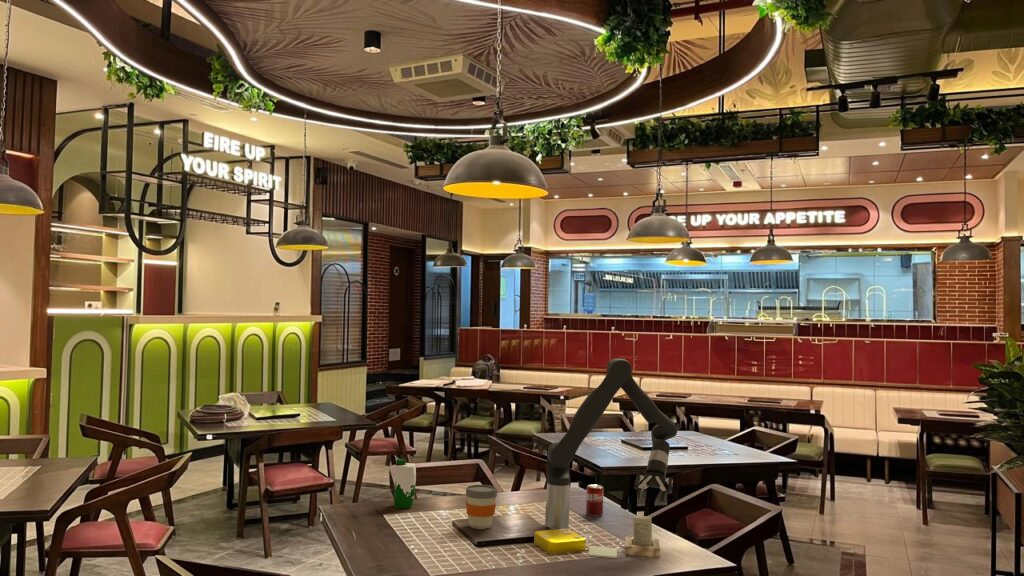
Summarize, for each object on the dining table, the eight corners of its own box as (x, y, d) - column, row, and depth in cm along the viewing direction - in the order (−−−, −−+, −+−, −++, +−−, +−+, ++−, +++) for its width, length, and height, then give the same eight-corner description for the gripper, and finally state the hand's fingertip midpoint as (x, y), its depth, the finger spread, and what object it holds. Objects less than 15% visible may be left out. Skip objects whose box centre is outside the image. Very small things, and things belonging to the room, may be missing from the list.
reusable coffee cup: (458, 528, 279) (460, 489, 280) (472, 520, 291) (473, 483, 292) (488, 532, 275) (489, 493, 275) (500, 524, 286) (502, 486, 287)
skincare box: (651, 550, 259) (652, 516, 260) (650, 554, 255) (651, 519, 256) (634, 548, 261) (635, 514, 262) (632, 551, 257) (633, 517, 258)
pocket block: (625, 554, 253) (625, 546, 253) (625, 544, 265) (625, 536, 265) (659, 557, 251) (660, 549, 252) (658, 547, 263) (658, 539, 263)
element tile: (532, 542, 265) (532, 529, 265) (567, 539, 271) (568, 526, 271) (550, 555, 251) (550, 541, 251) (587, 551, 257) (587, 537, 257)
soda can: (602, 517, 303) (603, 488, 304) (585, 515, 305) (586, 487, 305) (603, 513, 310) (604, 485, 311) (586, 511, 312) (587, 483, 312)
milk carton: (395, 503, 314) (397, 457, 315) (415, 504, 314) (417, 458, 315) (391, 508, 305) (393, 461, 306) (412, 509, 305) (414, 462, 306)
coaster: (588, 556, 250) (588, 554, 250) (589, 547, 260) (589, 545, 260) (616, 558, 249) (616, 556, 249) (617, 549, 259) (617, 548, 259)
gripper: (638, 456, 281) (630, 492, 270) (674, 460, 275) (667, 496, 264) (641, 468, 286) (633, 503, 275) (676, 472, 280) (670, 508, 269)
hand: (650, 500), depth 269 cm, fingers open, 8 cm apart
